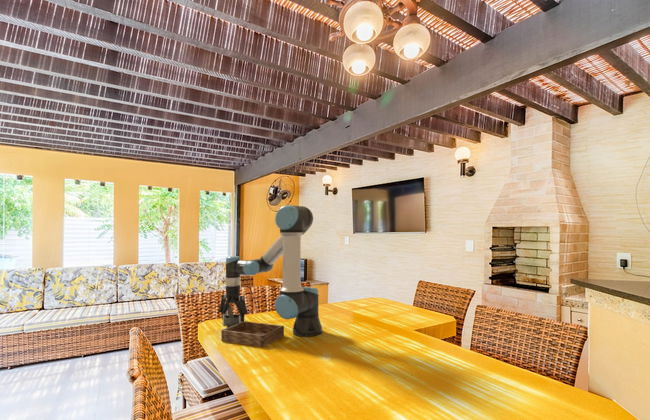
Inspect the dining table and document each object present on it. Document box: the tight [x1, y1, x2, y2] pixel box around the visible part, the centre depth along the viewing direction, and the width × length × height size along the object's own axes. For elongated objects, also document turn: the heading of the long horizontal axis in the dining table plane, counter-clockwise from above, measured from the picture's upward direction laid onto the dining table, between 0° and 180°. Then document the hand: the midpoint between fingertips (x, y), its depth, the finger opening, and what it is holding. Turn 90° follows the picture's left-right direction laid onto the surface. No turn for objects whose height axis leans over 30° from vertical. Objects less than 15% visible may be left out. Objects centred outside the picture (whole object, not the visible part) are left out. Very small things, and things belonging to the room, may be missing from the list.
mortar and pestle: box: [224, 305, 240, 328], centre depth 189 cm, size 11×9×12 cm
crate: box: [220, 320, 285, 348], centre depth 172 cm, size 24×18×5 cm
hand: (233, 326), depth 188 cm, fingers closed on mortar and pestle, 10 cm apart
